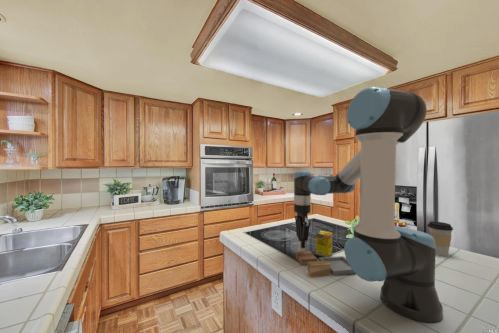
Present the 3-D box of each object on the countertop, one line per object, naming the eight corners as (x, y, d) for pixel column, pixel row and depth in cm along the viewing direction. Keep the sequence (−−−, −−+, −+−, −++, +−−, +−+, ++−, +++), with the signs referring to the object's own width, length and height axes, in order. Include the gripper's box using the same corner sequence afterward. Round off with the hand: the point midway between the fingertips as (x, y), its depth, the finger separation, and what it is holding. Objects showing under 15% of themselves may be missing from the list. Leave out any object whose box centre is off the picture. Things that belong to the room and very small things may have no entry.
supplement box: (328, 259, 96) (328, 235, 96) (315, 256, 99) (315, 233, 99) (332, 255, 100) (332, 232, 100) (319, 252, 104) (320, 230, 104)
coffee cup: (458, 258, 98) (458, 226, 98) (435, 257, 99) (435, 225, 99) (444, 251, 107) (444, 221, 107) (422, 249, 109) (423, 220, 109)
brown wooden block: (317, 265, 90) (317, 258, 90) (301, 266, 90) (301, 259, 90) (310, 257, 98) (310, 251, 98) (295, 258, 98) (295, 251, 98)
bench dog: (330, 275, 81) (330, 264, 81) (311, 277, 80) (311, 265, 80) (326, 271, 84) (326, 260, 84) (307, 273, 83) (307, 262, 83)
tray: (361, 273, 83) (361, 268, 83) (333, 276, 81) (333, 271, 81) (343, 260, 95) (343, 256, 95) (318, 262, 93) (318, 257, 93)
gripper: (316, 206, 93) (315, 259, 93) (304, 201, 106) (303, 248, 106) (300, 206, 92) (299, 260, 92) (289, 201, 105) (289, 248, 105)
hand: (301, 253), depth 99 cm, fingers closed
